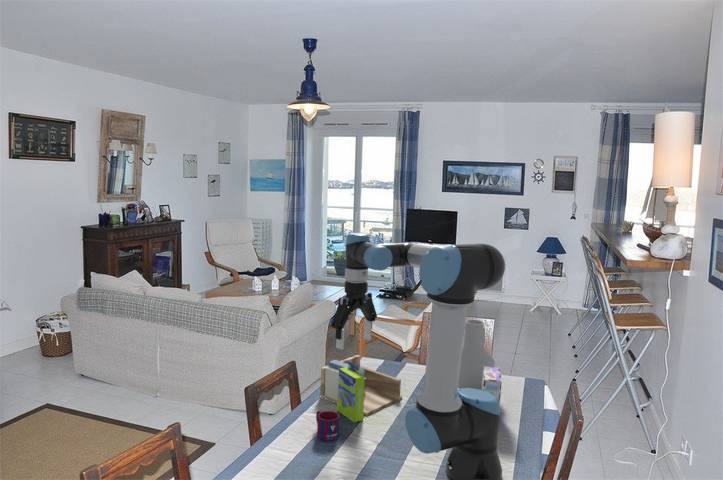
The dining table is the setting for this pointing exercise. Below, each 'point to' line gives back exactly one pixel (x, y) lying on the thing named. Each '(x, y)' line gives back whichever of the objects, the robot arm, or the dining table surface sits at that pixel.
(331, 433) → the mug
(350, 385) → the box
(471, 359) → the vase
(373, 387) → the shelf
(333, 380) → the shelved books
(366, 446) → the dining table surface
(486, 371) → the candy box
